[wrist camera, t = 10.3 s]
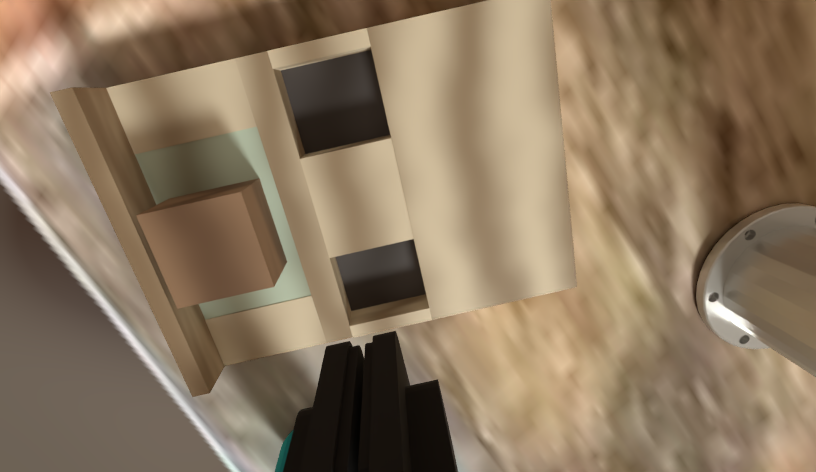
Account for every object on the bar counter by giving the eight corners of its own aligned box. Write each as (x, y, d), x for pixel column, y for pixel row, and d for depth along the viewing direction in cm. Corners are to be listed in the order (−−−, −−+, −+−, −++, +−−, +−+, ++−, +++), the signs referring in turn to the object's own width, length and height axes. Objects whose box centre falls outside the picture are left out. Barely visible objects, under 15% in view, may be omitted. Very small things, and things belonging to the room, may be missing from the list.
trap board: (534, -5, 28) (570, -27, 22) (562, 273, 34) (596, 305, 29) (111, 92, 28) (49, 92, 22) (220, 350, 34) (192, 397, 29)
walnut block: (259, 178, 28) (240, 191, 24) (287, 262, 30) (274, 286, 26) (169, 198, 28) (135, 215, 24) (202, 280, 30) (177, 308, 26)
